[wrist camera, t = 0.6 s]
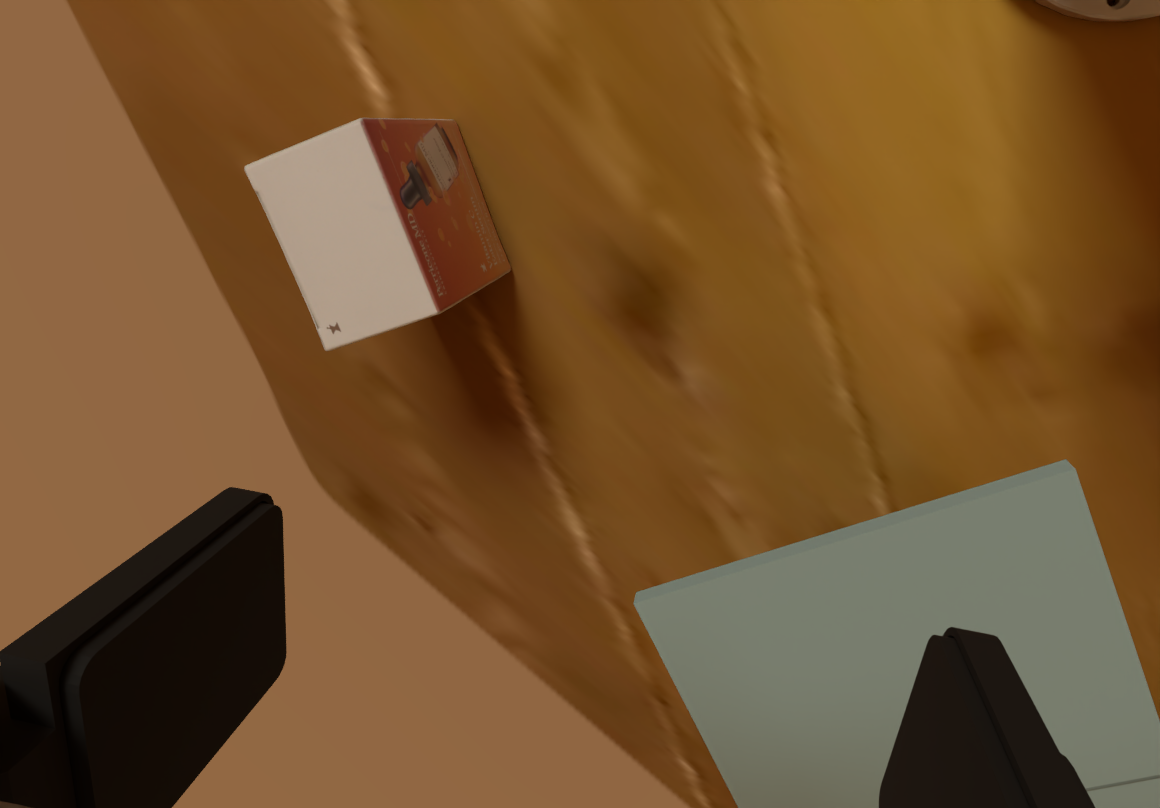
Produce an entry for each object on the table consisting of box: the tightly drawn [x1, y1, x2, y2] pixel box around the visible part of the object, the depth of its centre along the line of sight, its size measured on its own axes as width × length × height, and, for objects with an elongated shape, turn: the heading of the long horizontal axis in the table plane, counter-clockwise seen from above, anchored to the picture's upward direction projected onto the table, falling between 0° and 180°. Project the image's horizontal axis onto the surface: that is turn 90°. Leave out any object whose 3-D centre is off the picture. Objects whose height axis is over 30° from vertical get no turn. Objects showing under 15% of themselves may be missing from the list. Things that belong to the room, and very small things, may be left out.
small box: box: [244, 118, 511, 351], centre depth 35 cm, size 8×6×10 cm
